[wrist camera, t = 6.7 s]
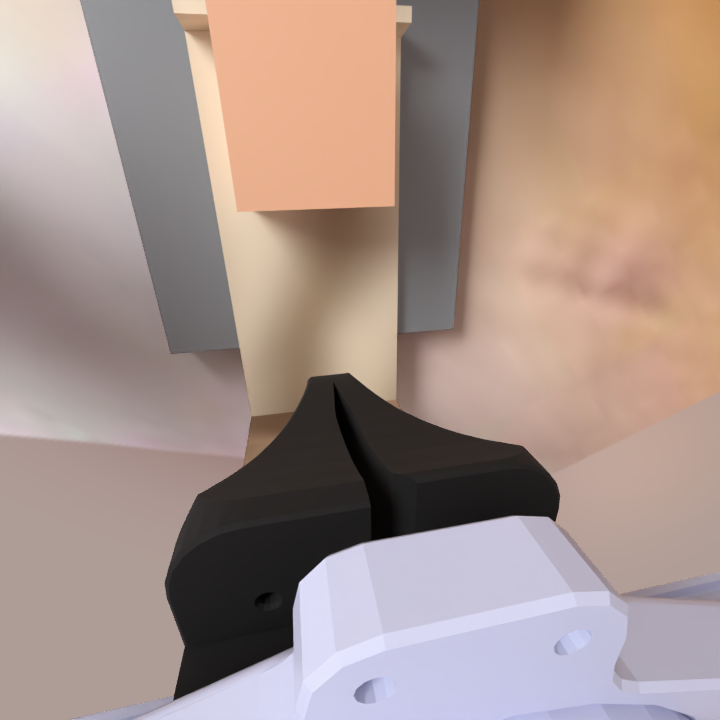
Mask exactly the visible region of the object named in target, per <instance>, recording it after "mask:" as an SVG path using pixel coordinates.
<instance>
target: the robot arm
mask: <svg viewBox="0 0 720 720" xmlns="http://www.w3.org/2000/svg"><path fill="white" fill-rule="evenodd" d="M559 500H560V494H559V490H558V486H557V483H556V482H555V480H554V479H553V478H552V477H551V475H550V474H549V473H548V472H547V471H546V470H545V469H544V468H543V466H542V465H541V464H540V463H539V462H538V461H537V460H536V459H535V458H534V457H533V456H532V455H531V454H530V453H529V452H528V451H527V450H526V449H525V448H524V447H523V446H520V445H514V444H508V443H502V442H496V441H490V440H484V439H480V438H476V437H472V436H468V435H464V434H460V433H456V432H453V431H450V430H447V429H444V428H441V427H438V426H435V425H433V424H430V423H427V422H425V421H423V420H420V419H418V418H416V417H414V416H412V415H410V414H408V413H406V412H404V411H402V410H400V409H398V408H397V407H395V406H393V405H392V404H390V403H388V402H387V401H385V400H384V399H382V398H381V397H379V396H378V395H376V394H375V393H374V392H372V391H371V390H370V389H368V388H367V387H366V386H364V385H363V384H362V383H361V382H360V381H358V380H357V379H356V378H355V377H353V376H352V375H351V374H350V373H343V374H333V375H324V376H315V377H310V378H309V379H308V380H307V386H306V389H305V392H304V394H303V396H302V398H301V400H300V402H299V404H298V406H297V408H296V410H295V411H294V413H293V415H292V416H291V418H290V419H289V421H288V422H287V424H286V425H285V427H284V428H283V429H282V431H281V432H280V433H279V434H278V435H277V437H276V438H275V439H274V440H273V441H272V442H271V443H270V444H269V445H268V446H267V447H266V448H265V449H264V450H263V451H262V452H261V453H260V454H259V455H258V456H256V457H255V458H254V459H253V460H251V461H250V462H249V463H248V464H246V465H245V466H244V467H242V468H241V469H239V470H238V471H237V472H235V473H234V474H232V475H231V476H229V477H228V478H226V479H224V480H223V481H221V482H219V483H218V484H216V485H214V486H213V487H211V488H209V489H208V490H206V491H204V492H202V493H200V494H198V496H197V497H196V499H195V501H194V503H193V505H192V508H191V509H190V511H189V514H188V516H187V518H186V520H185V522H184V524H183V526H182V528H181V531H180V533H179V537H178V539H177V542H176V545H175V548H174V552H173V555H172V559H171V562H170V566H169V569H168V573H167V577H166V580H165V588H166V595H167V600H168V602H169V605H170V608H171V610H172V613H173V616H174V618H175V621H176V624H177V626H178V629H179V632H180V635H181V637H182V640H183V642H184V645H185V649H184V653H183V658H182V662H181V667H180V671H179V676H178V680H177V685H176V690H175V694H174V696H171V697H166V698H162V699H158V700H153V701H149V702H144V703H140V704H135V705H131V706H127V707H123V708H118V709H114V710H109V711H105V712H100V713H96V714H92V715H87V716H83V717H78V718H74V719H70V720H720V572H715V573H711V574H706V575H702V576H698V577H693V578H689V579H685V580H680V581H676V582H672V583H667V584H663V585H658V586H654V587H649V588H645V589H641V590H636V591H632V592H628V593H623V594H618V592H617V591H616V590H615V589H614V587H613V586H612V585H611V584H610V583H609V581H608V580H607V579H606V578H605V577H604V575H603V574H602V573H601V572H600V571H599V570H598V568H597V567H596V566H595V565H594V564H593V562H592V561H591V560H590V559H589V558H588V557H587V555H586V554H585V553H584V552H583V551H582V549H581V548H580V547H579V546H578V545H577V543H576V542H575V541H574V540H573V539H572V537H571V536H570V535H569V534H568V533H567V532H566V531H565V530H564V529H563V528H562V527H560V526H559V525H558V524H557V523H555V521H556V517H557V513H558V509H559Z"/></svg>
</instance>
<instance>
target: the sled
mask: <svg viewBox="0 0 720 720" xmlns="http://www.w3.org/2000/svg"><path fill="white" fill-rule="evenodd" d="M172 5H173V11H174V14H175V16H176V17H177V19H178V21H179V22H180V24H181V25H182V27H183V29H184V30H185V36H186V42H187V48H188V53H189V59H190V65H191V71H192V76H193V82H194V88H195V94H196V100H197V105H198V111H199V117H200V123H201V128H202V134H203V140H204V146H205V151H206V157H207V163H208V169H209V174H210V180H211V186H212V192H213V197H214V203H215V209H216V215H217V220H218V226H219V232H220V238H221V243H222V249H223V255H224V261H225V267H226V272H227V278H228V284H229V290H230V295H231V301H232V307H233V313H234V318H235V324H236V330H237V336H238V341H239V347H240V353H241V359H242V364H243V370H244V376H245V382H246V387H247V393H248V399H249V405H250V410H251V416H252V417H251V423H250V429H249V435H248V441H247V447H246V454H245V460H244V466H245V465H246V464H248V463H249V462H250V461H251V460H253V459H254V458H255V457H256V456H258V455H259V454H260V453H261V452H262V451H263V450H264V449H265V448H266V447H267V446H268V445H269V444H270V443H271V442H272V441H273V440H274V439H275V438H276V437H277V435H278V434H279V433H280V432H281V431H282V429H283V428H284V427H285V425H286V424H287V422H288V421H289V419H290V418H291V416H292V415H293V413H294V411H295V410H296V408H297V406H298V404H299V402H300V400H301V398H302V396H303V394H304V392H305V389H306V386H307V380H308V379H309V378H310V377H315V376H324V375H333V374H343V373H350V374H351V375H352V376H353V377H355V378H356V379H357V380H358V381H360V382H361V383H362V384H363V385H364V386H366V387H367V388H368V389H370V390H371V391H372V392H374V393H375V394H376V395H378V396H379V397H381V398H382V399H384V400H385V401H387V402H388V403H390V404H392V405H393V406H395V407H397V408H398V409H400V410H402V409H401V407H400V406H399V404H398V402H397V400H396V384H397V305H398V227H399V148H400V70H401V37H402V35H403V34H404V33H405V31H406V30H407V28H408V27H409V26H410V24H411V23H412V6H402V5H396V90H395V206H387V207H359V208H332V209H305V210H277V211H250V212H237V207H236V200H235V194H234V187H233V180H232V174H231V167H230V161H229V154H228V148H227V141H226V134H225V128H224V121H223V115H222V108H221V101H220V95H219V88H218V82H217V75H216V69H215V62H214V55H213V49H212V42H211V36H210V29H209V23H208V16H207V9H206V3H205V0H172ZM244 466H243V467H244Z"/></svg>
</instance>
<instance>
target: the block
mask: <svg viewBox="0 0 720 720" xmlns="http://www.w3.org/2000/svg"><path fill="white" fill-rule="evenodd" d="M205 3H206V9H207V16H208V23H209V29H210V36H211V42H212V49H213V55H214V62H215V69H216V75H217V82H218V88H219V95H220V101H221V108H222V115H223V121H224V128H225V134H226V141H227V148H228V154H229V161H230V167H231V174H232V180H233V187H234V194H235V200H236V207H237V212H250V211H277V210H305V209H332V208H359V207H387V206H395V90H396V0H205Z"/></svg>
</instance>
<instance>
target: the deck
mask: <svg viewBox="0 0 720 720" xmlns="http://www.w3.org/2000/svg"><path fill="white" fill-rule="evenodd" d="M80 2H81V6H82V10H83V14H84V18H85V21H86V25H87V29H88V33H89V37H90V41H91V45H92V49H93V53H94V56H95V60H96V64H97V68H98V72H99V76H100V80H101V84H102V88H103V91H104V95H105V99H106V103H107V107H108V111H109V115H110V119H111V123H112V127H113V130H114V134H115V138H116V142H117V146H118V150H119V154H120V158H121V162H122V165H123V169H124V173H125V177H126V181H127V185H128V189H129V193H130V197H131V200H132V204H133V208H134V212H135V216H136V220H137V224H138V228H139V232H140V236H141V239H142V243H143V247H144V251H145V255H146V259H147V263H148V267H149V271H150V274H151V278H152V282H153V286H154V290H155V294H156V298H157V302H158V306H159V309H160V313H161V317H162V321H163V325H164V329H165V333H166V337H167V341H168V345H169V348H170V352H171V354H177V353H188V352H199V351H210V350H221V349H232V348H240V347H239V341H238V336H237V330H236V324H235V318H234V313H233V307H232V301H231V295H230V290H229V284H228V278H227V272H226V267H225V261H224V255H223V249H222V243H221V238H220V232H219V226H218V220H217V215H216V209H215V203H214V197H213V192H212V186H211V180H210V174H209V169H208V163H207V157H206V151H205V146H204V140H203V134H202V128H201V123H200V117H199V111H198V105H197V100H196V94H195V88H194V82H193V76H192V71H191V65H190V59H189V53H188V48H187V42H186V36H185V30H184V29H183V27H182V25H181V24H180V22H179V21H178V19H177V17H176V16H175V14H174V11H173V5H172V0H80ZM396 5H402V6H412V23H411V24H410V26H409V27H408V28H407V30H406V31H405V33H404V34H403V35H402V37H401V70H400V148H399V227H398V305H397V334H399V333H411V332H422V331H433V330H444V329H453V327H454V314H455V301H456V288H457V275H458V262H459V250H460V237H461V224H462V211H463V198H464V185H465V172H466V160H467V147H468V134H469V121H470V108H471V95H472V82H473V70H474V57H475V44H476V31H477V18H478V5H479V0H396Z"/></svg>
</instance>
